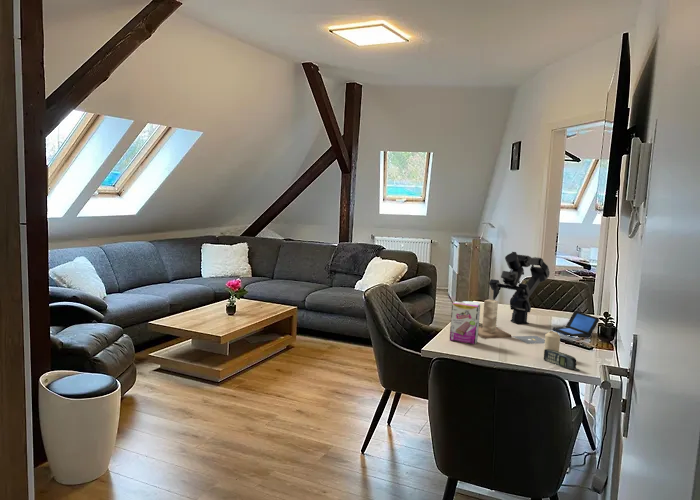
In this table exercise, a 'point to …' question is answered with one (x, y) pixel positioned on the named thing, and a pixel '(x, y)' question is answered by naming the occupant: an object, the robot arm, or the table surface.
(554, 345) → the candle
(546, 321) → the table surface
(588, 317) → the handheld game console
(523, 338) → the gray mat
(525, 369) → the table surface
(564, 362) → the mobile phone
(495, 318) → the birch block
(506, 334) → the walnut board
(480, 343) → the table surface
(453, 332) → the candy bar box
